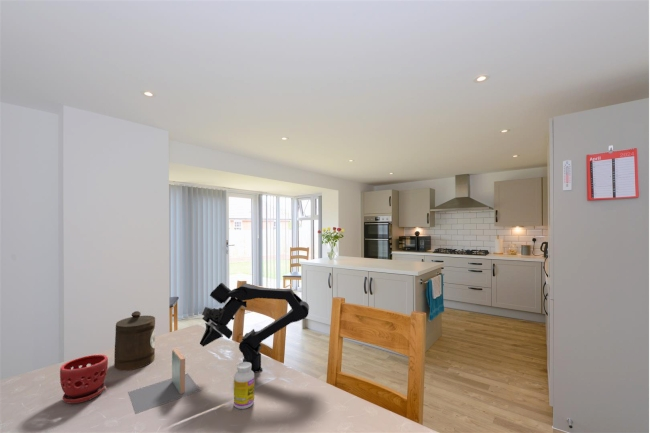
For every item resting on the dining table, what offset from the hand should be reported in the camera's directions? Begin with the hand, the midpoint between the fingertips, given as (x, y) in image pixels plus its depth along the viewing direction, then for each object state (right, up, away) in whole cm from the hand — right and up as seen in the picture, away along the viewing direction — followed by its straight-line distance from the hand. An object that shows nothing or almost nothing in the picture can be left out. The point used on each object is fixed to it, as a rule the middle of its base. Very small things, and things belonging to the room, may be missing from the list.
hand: (201, 345), depth 114 cm
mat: (-10, -13, -8) cm, 19 cm away
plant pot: (-37, -14, -10) cm, 41 cm away
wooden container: (-35, -14, +15) cm, 41 cm away
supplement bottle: (+21, -13, -15) cm, 29 cm away
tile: (-6, -13, -6) cm, 15 cm away
